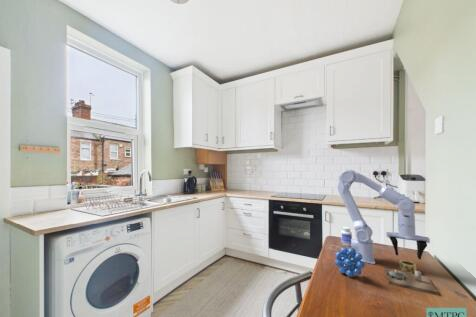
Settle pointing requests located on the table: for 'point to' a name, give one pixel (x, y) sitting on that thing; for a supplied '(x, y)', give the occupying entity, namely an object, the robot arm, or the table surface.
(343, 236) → the pill bottle
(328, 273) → the table surface
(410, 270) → the gear
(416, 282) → the gear board
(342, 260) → the grapes
